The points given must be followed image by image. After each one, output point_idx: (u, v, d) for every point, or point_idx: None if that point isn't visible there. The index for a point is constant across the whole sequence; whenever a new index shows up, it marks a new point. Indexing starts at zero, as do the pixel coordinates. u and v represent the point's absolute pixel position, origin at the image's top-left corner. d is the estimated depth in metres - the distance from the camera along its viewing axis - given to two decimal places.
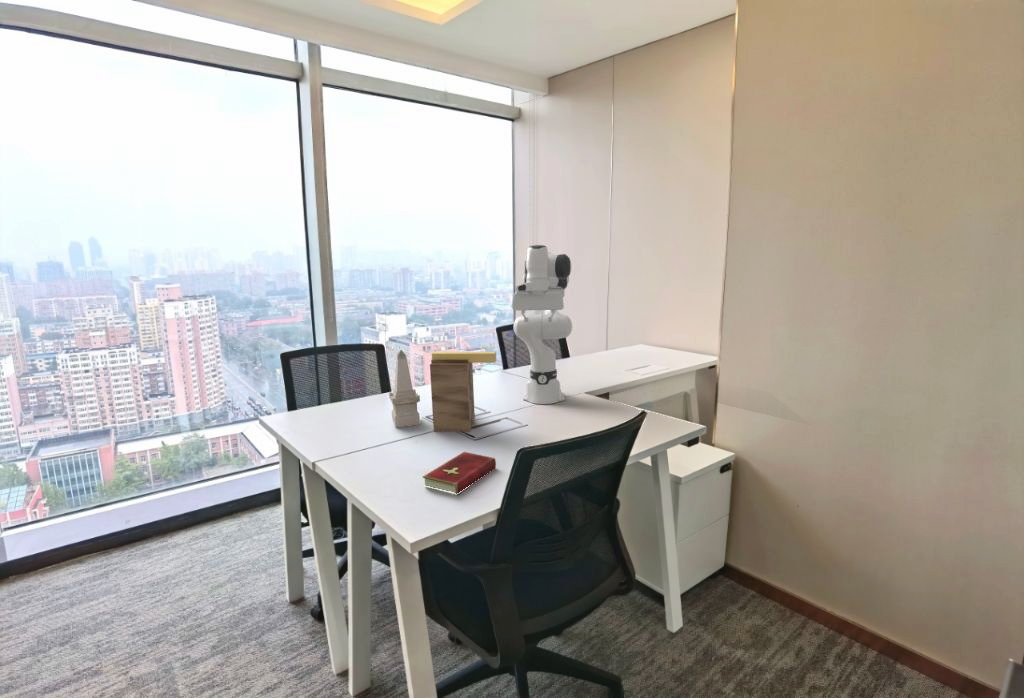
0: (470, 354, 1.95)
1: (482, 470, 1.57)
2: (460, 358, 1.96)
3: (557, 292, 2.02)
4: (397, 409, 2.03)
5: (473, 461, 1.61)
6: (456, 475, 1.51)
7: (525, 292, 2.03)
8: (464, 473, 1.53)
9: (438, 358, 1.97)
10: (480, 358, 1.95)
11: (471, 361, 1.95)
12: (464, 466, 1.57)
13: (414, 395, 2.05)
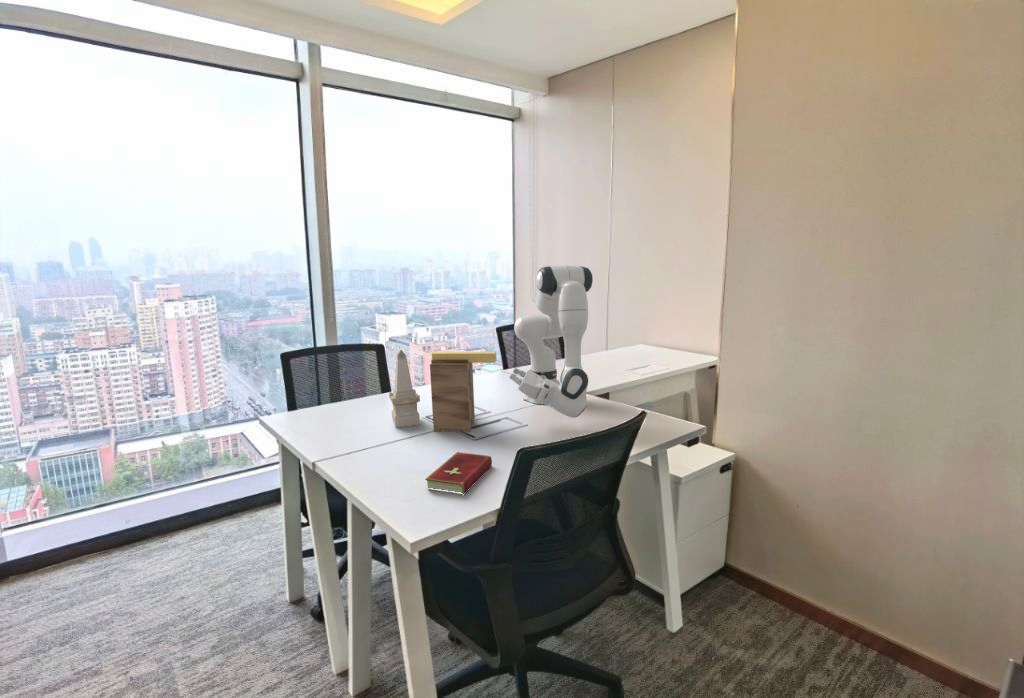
0: (470, 354, 1.95)
1: (482, 469, 1.58)
2: (460, 358, 1.96)
3: None
4: (397, 409, 2.03)
5: (470, 460, 1.61)
6: (459, 475, 1.51)
7: None
8: (466, 472, 1.53)
9: (438, 358, 1.97)
10: (480, 358, 1.95)
11: (471, 361, 1.95)
12: (463, 465, 1.58)
13: (414, 395, 2.05)
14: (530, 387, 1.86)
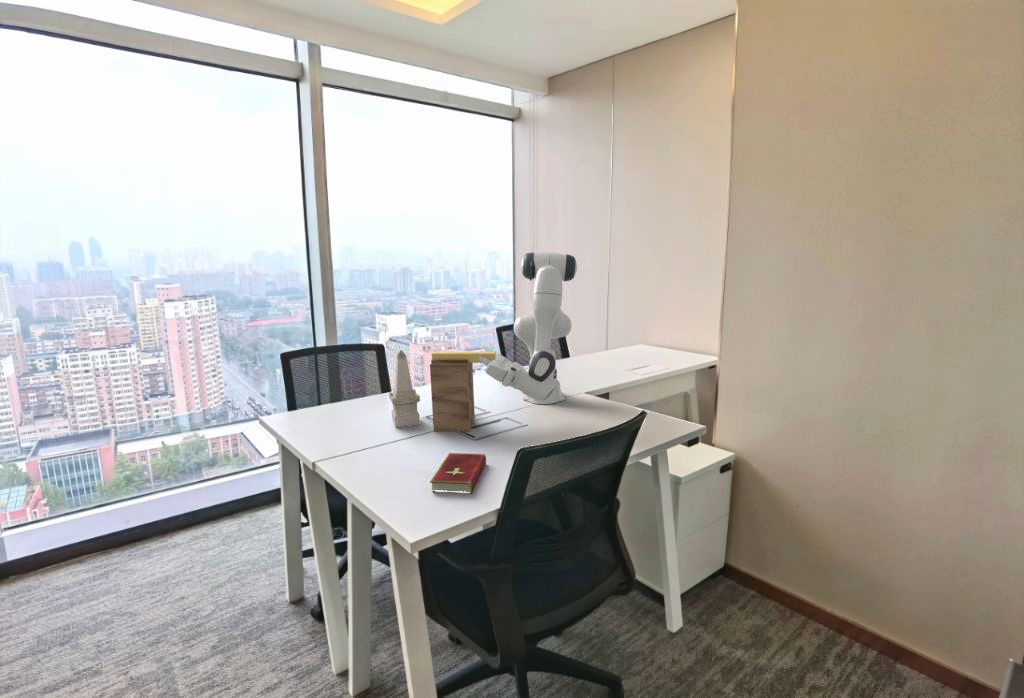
0: (470, 354, 1.95)
1: (481, 467, 1.59)
2: (460, 358, 1.96)
3: None
4: (397, 409, 2.03)
5: (467, 460, 1.62)
6: (463, 475, 1.51)
7: None
8: (468, 471, 1.53)
9: (438, 358, 1.97)
10: None
11: (471, 361, 1.95)
12: (462, 465, 1.58)
13: (414, 395, 2.05)
14: (496, 370, 1.86)
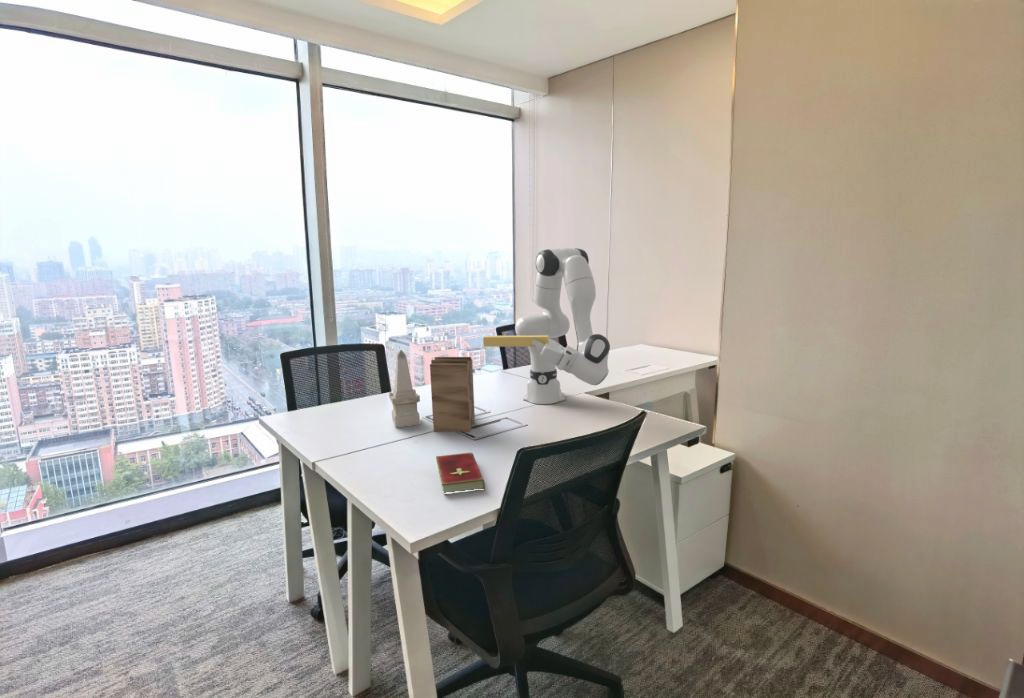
0: (523, 338, 1.91)
1: None
2: (512, 342, 1.92)
3: None
4: (397, 409, 2.03)
5: (460, 460, 1.62)
6: (469, 473, 1.52)
7: None
8: (472, 469, 1.55)
9: (490, 342, 1.93)
10: None
11: (524, 345, 1.92)
12: (460, 465, 1.58)
13: (414, 395, 2.05)
14: (552, 353, 1.82)
